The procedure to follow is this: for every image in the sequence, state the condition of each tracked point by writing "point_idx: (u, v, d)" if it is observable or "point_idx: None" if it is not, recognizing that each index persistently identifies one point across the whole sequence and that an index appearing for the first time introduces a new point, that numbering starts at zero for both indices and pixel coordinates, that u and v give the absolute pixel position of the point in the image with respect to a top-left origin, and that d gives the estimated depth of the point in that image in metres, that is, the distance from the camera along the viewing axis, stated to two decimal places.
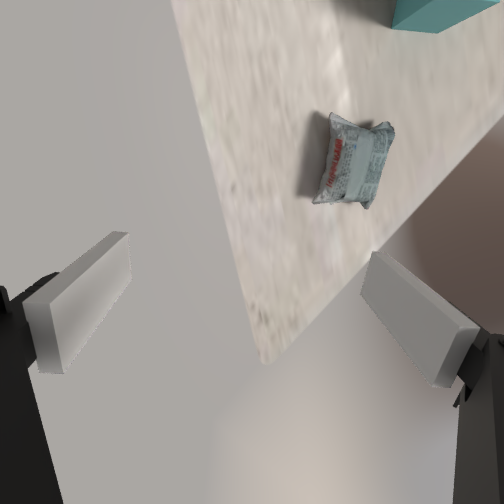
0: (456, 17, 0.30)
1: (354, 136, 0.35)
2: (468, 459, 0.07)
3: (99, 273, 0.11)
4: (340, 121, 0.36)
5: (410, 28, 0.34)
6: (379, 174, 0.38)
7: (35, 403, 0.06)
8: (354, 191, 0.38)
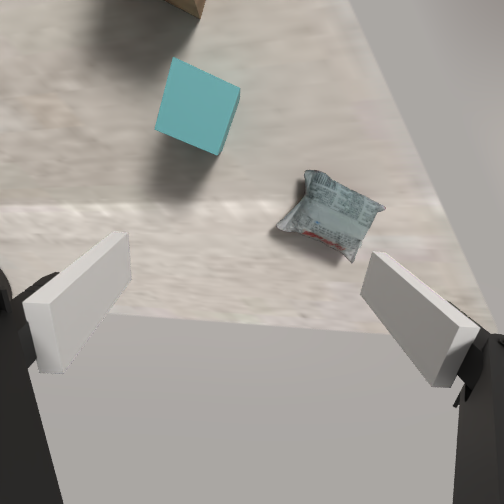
0: (235, 106, 0.29)
1: (307, 219, 0.35)
2: (468, 459, 0.07)
3: (99, 273, 0.11)
4: (287, 221, 0.36)
5: (227, 134, 0.33)
6: (355, 198, 0.34)
7: (35, 403, 0.06)
8: (360, 230, 0.35)
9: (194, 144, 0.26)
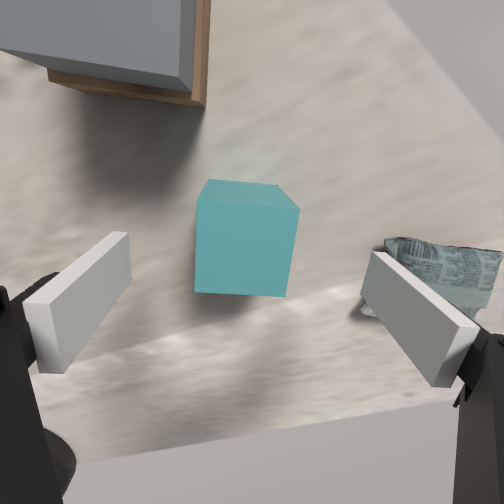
0: None
1: None
2: (468, 459, 0.07)
3: (99, 273, 0.11)
4: None
5: None
6: (467, 259, 0.25)
7: (35, 403, 0.06)
8: (483, 297, 0.25)
9: (251, 293, 0.19)
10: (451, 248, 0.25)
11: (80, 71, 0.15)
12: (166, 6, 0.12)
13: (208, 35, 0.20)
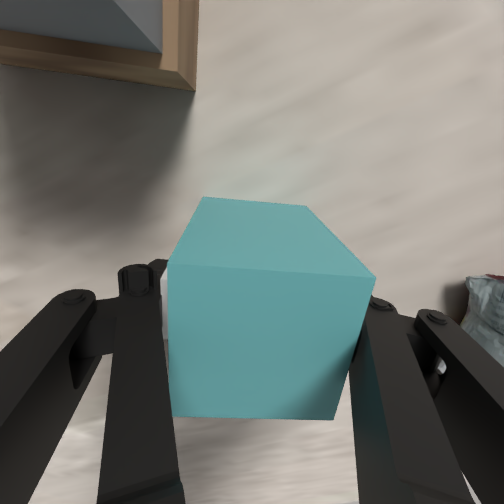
0: None
1: None
2: (362, 419, 0.08)
3: None
4: None
5: None
6: None
7: (165, 368, 0.07)
8: None
9: (273, 416, 0.10)
10: None
11: None
12: None
13: None
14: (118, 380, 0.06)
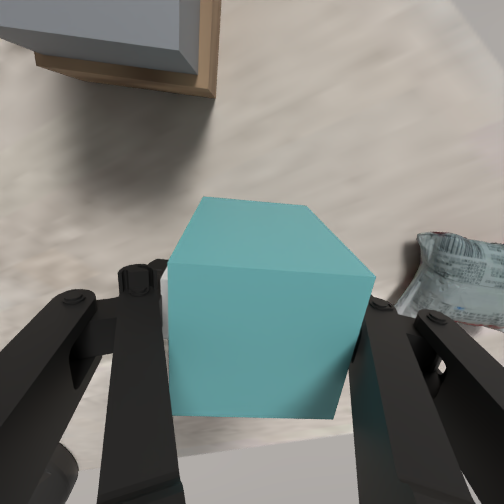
0: None
1: (441, 306, 0.23)
2: (362, 419, 0.08)
3: None
4: (404, 307, 0.25)
5: None
6: None
7: (165, 368, 0.07)
8: None
9: (273, 415, 0.10)
10: (496, 245, 0.22)
11: (67, 51, 0.13)
12: None
13: (219, 14, 0.17)
14: (118, 380, 0.06)
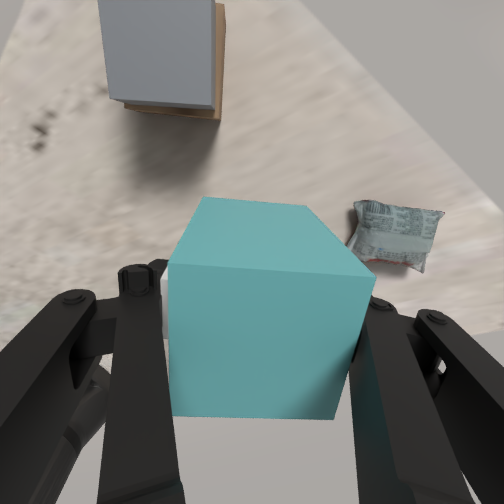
0: None
1: (369, 249, 0.35)
2: (362, 419, 0.08)
3: None
4: None
5: None
6: (413, 215, 0.34)
7: (165, 368, 0.07)
8: (426, 244, 0.35)
9: (273, 415, 0.10)
10: (401, 207, 0.34)
11: (148, 104, 0.26)
12: (203, 67, 0.22)
13: (223, 72, 0.30)
14: (118, 380, 0.06)
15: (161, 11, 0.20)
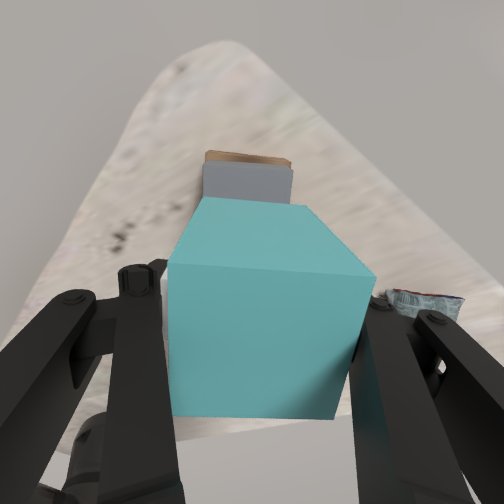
0: None
1: None
2: (362, 419, 0.08)
3: None
4: None
5: None
6: (438, 305, 0.39)
7: (165, 368, 0.07)
8: None
9: (273, 415, 0.10)
10: (428, 297, 0.39)
11: None
12: None
13: None
14: (118, 380, 0.06)
15: (252, 192, 0.26)
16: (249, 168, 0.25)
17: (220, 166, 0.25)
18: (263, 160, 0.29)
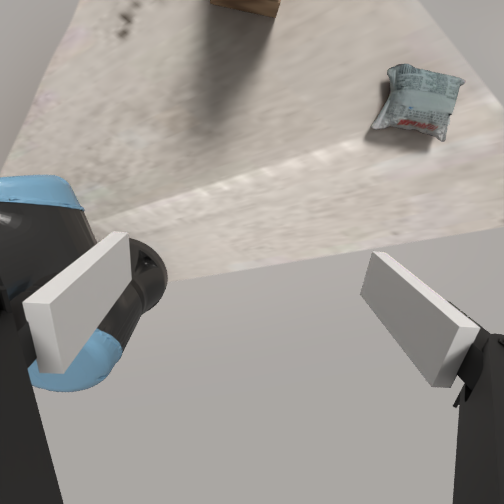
0: None
1: (400, 108, 0.41)
2: (468, 459, 0.07)
3: (99, 273, 0.11)
4: (381, 119, 0.43)
5: None
6: (439, 76, 0.40)
7: (35, 403, 0.06)
8: (449, 104, 0.41)
9: None
10: (429, 71, 0.40)
11: None
12: None
13: None
14: None
15: None
16: None
17: None
18: None
